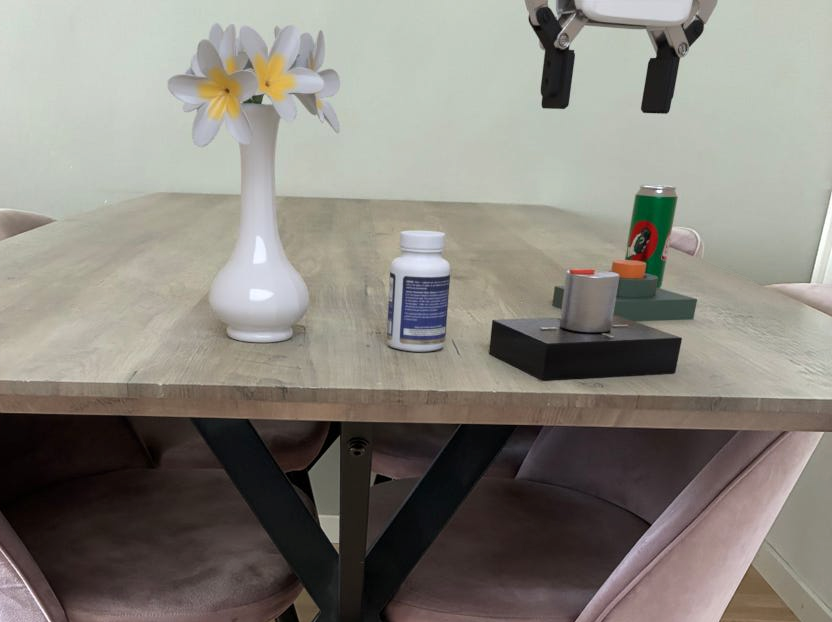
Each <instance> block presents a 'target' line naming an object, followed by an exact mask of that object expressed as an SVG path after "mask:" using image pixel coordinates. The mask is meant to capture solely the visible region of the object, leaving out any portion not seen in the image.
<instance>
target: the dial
mask: <svg viewBox="0 0 832 622" xmlns="http://www.w3.org/2000/svg"><path fill="white" fill-rule="evenodd" d="M610 271H611V270H601V269H593V268H569V270H567V271H566V274H565V282H564V286H565V288H564V296H563V303H562V309H560V310H561V311H560V317H561V318H560V327H561V328H564V329H566V330H571V331H576V332H585V333H602V332H608V331H610V330H611V326H612V319H613V313H614V307H615V301H616V295H617V288H618V282H619V274H617V273H614V272H610Z"/></svg>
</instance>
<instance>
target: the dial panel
mask: <svg viewBox="0 0 832 622" xmlns="http://www.w3.org/2000/svg"><path fill="white" fill-rule="evenodd" d="M560 318H561V316H558V317H532V318H531V317H530V318H502V319H492V321H491V330H490V340H489V349H488V354H489V355H491V356H493V357H495V358H497V359H499V360H501V361H503V362H505V363H507V364H508V365H511V366H513V367H515V368H517V369H520V370H521V371H523V372H525V373H528V374H529V375H531V376H533V377H535V378H537V379H539V380H540V381H545V382H546V381H559V380H576V379H577V380H579V379H580V380H581V379H594V378H595V379H596V378H613V377H614V376H615V377H627V376H626V375H633V376H643V375H642V374H651V375H663V374H662V373H669V374H676V372H677V365H678V361H679V356H680V351H681V345H682V341H683V337H682V336H681V337H680V336H678V335H675V334H672V333H670V332H667V331H664V330H660V329H657V328H655V327H652V326H648V325H646V324H643V323H640V322H638V321H635V322H634V321H631V320H628V319H626V318H623V317H620V316H613V319H612V326H611V330H610V331H608V332H602V333H585V332H576V331H571V330H566V329H564V328H561V327H560ZM660 373H661V374H660ZM624 375H625V376H624Z"/></svg>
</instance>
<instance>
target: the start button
mask: <svg viewBox="0 0 832 622" xmlns="http://www.w3.org/2000/svg"><path fill="white" fill-rule="evenodd" d="M645 269H646V263H645V262H641V261H634V260H625V259H615V260H612V264H611V269H610V271H611V272H614V273H617V274H619V277H622V278H644V275H645Z"/></svg>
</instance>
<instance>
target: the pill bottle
mask: <svg viewBox="0 0 832 622" xmlns="http://www.w3.org/2000/svg"><path fill="white" fill-rule="evenodd" d="M445 247H446V233H445V232H443V231H435V230H421V229H420V230H418V229H417V230H416V229H415V230H403V231H400V233H399V248H398V249H399V250H401V254H400V256H398V257H396V258H394V259H393V260H392V262H391V263H390V269H389V281H388V282H389V285H388V301H387V302H388V306H387V307H388V308H387V326H386V343H387V345H388V346H389V347H390V348H393V349H396V350H400V351H405V352H413V353H414V352H415V353H428V352H434V351H439V350H441V349H443V348H444V347H445V344H446V336H447V323H448V322H447V321H448V310H449V309H448V308H449V295H450V285H451V284H450V283H451V265H450V263H449V261H448V260H446V259H445V258H443V257H442V253H443V252H444V251H445Z"/></svg>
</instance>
